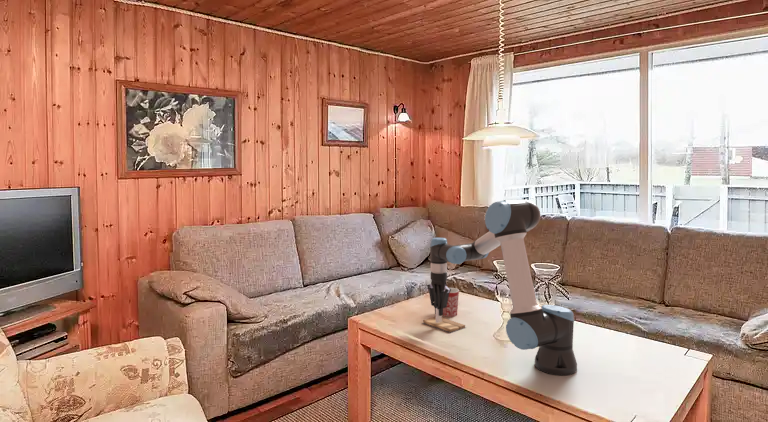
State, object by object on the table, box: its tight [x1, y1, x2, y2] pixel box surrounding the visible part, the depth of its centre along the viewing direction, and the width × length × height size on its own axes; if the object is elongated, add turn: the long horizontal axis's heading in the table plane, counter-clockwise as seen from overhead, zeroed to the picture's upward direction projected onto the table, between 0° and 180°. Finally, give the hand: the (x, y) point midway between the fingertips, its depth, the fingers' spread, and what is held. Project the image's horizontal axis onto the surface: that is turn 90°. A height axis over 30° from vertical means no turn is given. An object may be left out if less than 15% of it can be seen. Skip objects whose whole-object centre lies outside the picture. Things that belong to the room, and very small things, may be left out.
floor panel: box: [421, 316, 467, 334], centre depth 233 cm, size 18×11×2 cm, turn 40°
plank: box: [422, 317, 460, 332], centre depth 231 cm, size 17×6×1 cm, turn 40°
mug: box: [442, 287, 460, 318], centre depth 249 cm, size 13×9×14 cm
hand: (438, 321), depth 230 cm, fingers closed
